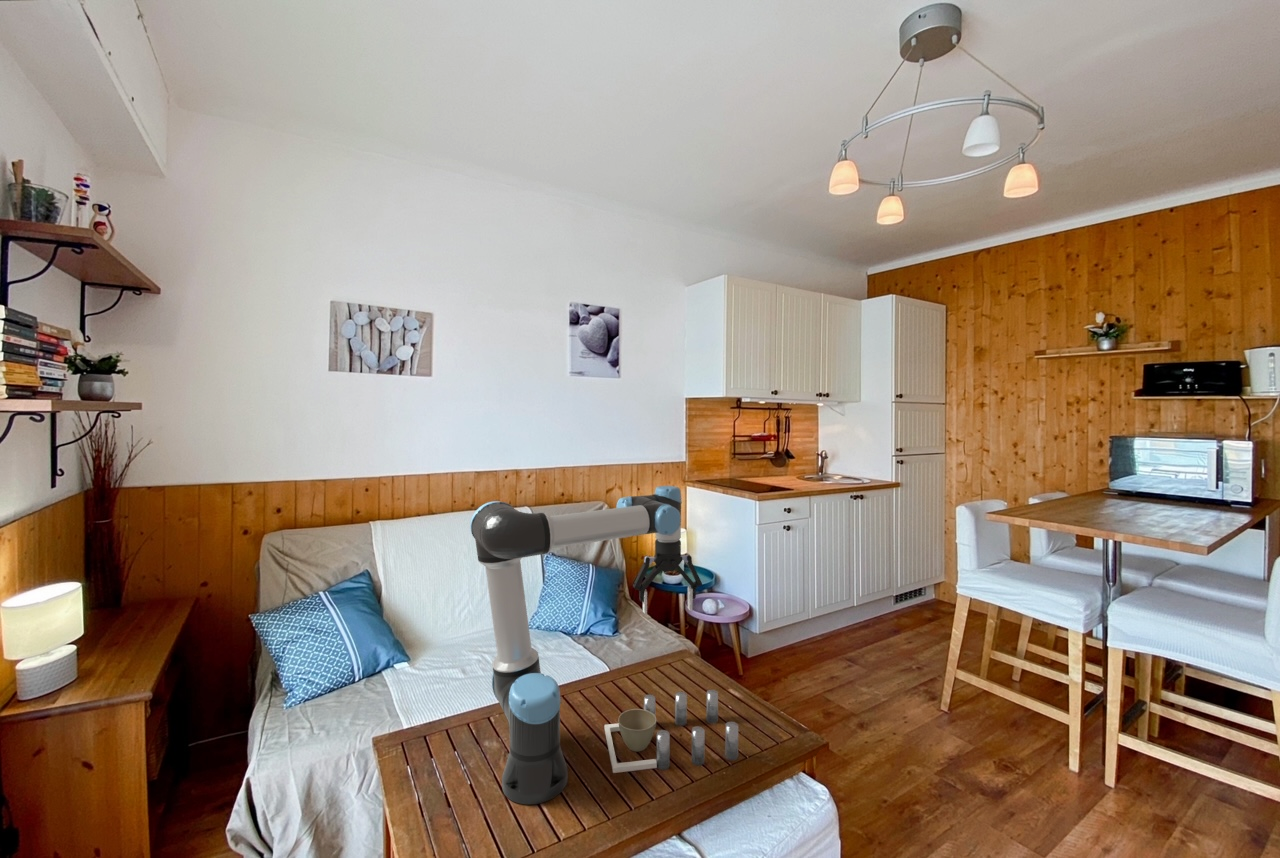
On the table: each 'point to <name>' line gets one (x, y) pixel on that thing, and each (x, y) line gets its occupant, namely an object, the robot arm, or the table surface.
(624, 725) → the flower pot
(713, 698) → the spacers
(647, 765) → the frame
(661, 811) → the table surface
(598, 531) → the robot arm
